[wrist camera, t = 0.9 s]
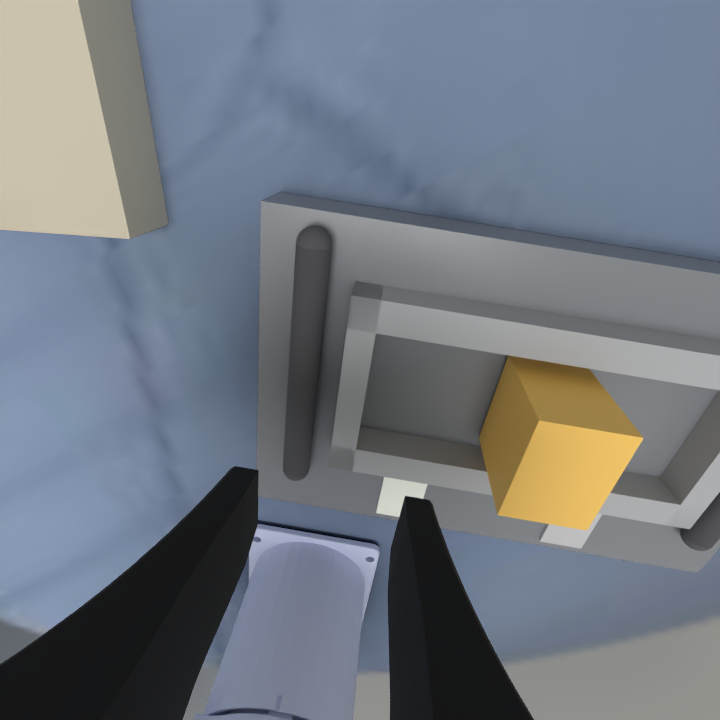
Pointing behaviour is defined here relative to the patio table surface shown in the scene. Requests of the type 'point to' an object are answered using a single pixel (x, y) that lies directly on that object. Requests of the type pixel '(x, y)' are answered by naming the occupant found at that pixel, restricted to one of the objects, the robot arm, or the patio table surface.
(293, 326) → the cable on side
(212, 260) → the patio table surface
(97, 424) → the patio table surface
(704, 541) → the rod
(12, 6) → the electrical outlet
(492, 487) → the block
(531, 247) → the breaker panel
